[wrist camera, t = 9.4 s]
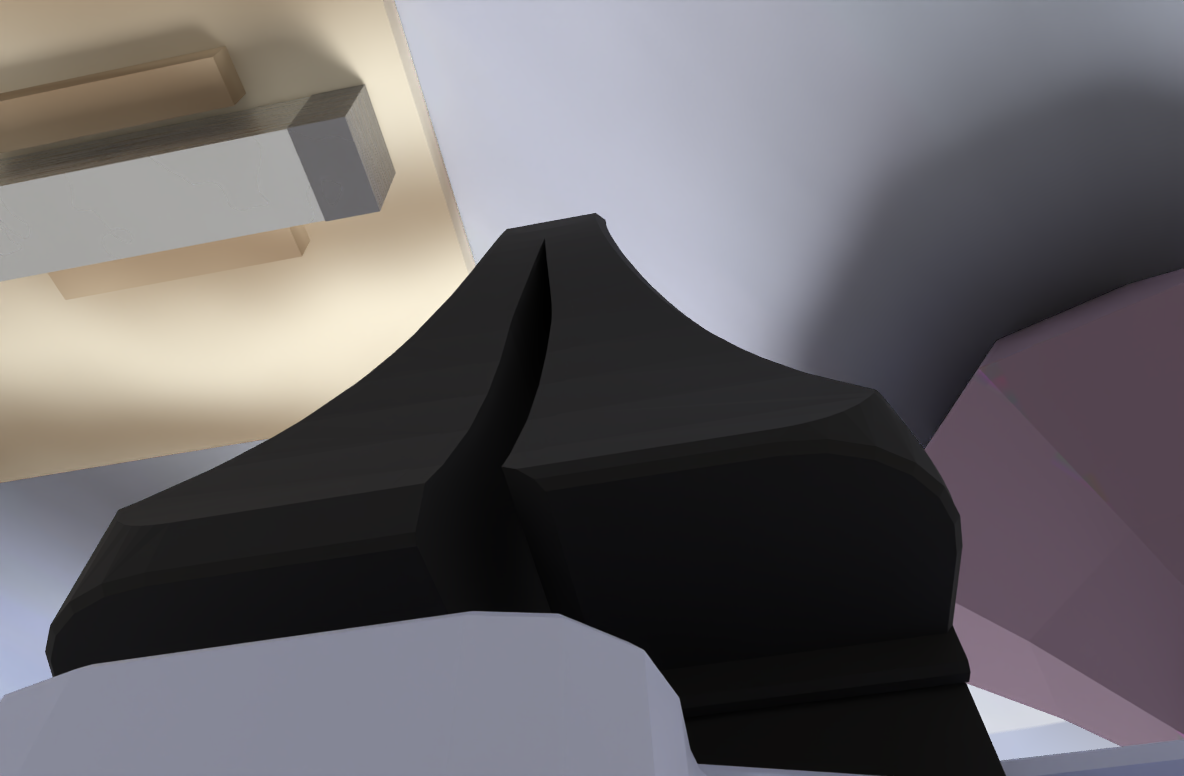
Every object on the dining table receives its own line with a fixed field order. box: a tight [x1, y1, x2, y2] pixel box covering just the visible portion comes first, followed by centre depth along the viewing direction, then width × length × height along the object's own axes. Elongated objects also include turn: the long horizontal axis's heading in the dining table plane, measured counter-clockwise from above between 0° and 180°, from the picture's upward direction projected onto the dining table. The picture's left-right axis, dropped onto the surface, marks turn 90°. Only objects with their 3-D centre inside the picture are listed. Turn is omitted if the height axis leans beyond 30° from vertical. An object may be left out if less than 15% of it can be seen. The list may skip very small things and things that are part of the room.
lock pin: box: [0, 84, 396, 282], centre depth 18 cm, size 2×11×2 cm, turn 101°
